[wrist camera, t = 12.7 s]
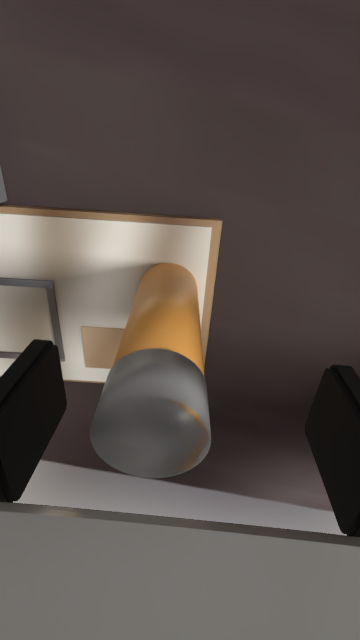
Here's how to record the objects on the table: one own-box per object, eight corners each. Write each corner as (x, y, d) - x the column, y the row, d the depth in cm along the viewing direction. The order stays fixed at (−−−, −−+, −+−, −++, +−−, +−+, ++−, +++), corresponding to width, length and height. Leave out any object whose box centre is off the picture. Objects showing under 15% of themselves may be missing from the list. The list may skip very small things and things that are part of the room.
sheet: (221, 218, 16) (223, 222, 15) (201, 383, 22) (201, 392, 21) (-157, 193, 16) (-174, 196, 15) (-80, 367, 21) (-90, 375, 20)
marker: (201, 263, 17) (218, 398, 8) (195, 318, 18) (204, 481, 9) (138, 259, 16) (84, 390, 8) (138, 314, 18) (93, 475, 9)
